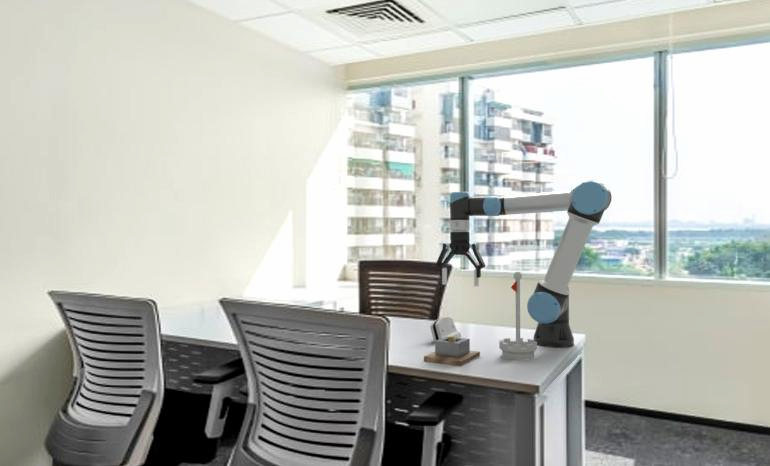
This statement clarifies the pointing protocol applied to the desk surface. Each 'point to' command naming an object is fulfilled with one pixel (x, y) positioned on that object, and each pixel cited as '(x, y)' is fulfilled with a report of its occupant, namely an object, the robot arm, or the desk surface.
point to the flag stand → (517, 334)
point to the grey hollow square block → (452, 347)
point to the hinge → (444, 328)
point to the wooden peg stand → (450, 360)
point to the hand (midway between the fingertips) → (460, 285)
